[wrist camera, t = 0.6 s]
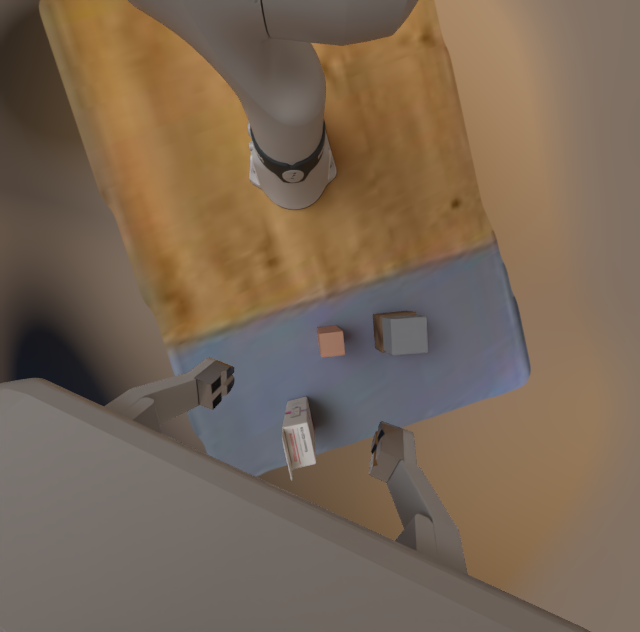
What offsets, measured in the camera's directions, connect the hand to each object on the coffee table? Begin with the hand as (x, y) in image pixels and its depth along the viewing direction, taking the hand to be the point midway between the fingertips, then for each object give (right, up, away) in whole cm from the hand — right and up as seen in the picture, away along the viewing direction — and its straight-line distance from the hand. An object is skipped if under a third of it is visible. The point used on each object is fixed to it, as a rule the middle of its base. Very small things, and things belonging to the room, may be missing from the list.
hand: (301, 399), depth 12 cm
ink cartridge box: (-3, -19, +42) cm, 46 cm away
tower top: (+18, +1, +36) cm, 41 cm away
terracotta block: (+3, 0, +41) cm, 41 cm away
